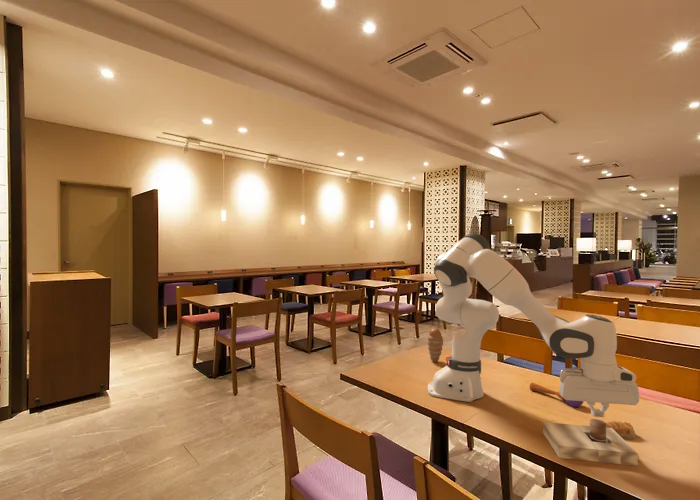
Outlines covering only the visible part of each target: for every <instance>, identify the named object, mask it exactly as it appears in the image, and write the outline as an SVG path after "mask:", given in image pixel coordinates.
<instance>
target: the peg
mask: <svg viewBox="0 0 700 500" xmlns="http://www.w3.org/2000/svg"><path fill="white" fill-rule="evenodd" d="M606 423H607V422H605V421H603V420H600V419H597V418H594V419H593V418H591V419H590V420H589V426H590V440H591V441H592V442H602V443H606Z"/></svg>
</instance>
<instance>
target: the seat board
mask: <svg viewBox="0 0 700 500" xmlns="http://www.w3.org/2000/svg"><path fill="white" fill-rule="evenodd" d="M542 434H543V435H544V437H545V438H546V440H547V442H548V443H549V444H550V446H551V448H552V449H553V450H554V452H555V454H556V456H557V457H558V458H559V459H567V460H568V459H569V460H577V461H586V462H596V463H597V462H598V463H607V464H615V465H616V464H618V465H626V466H633V467H634V466H636V467H638V466H639V462H638V461H639V453H638V452H637V451H636V450H635V449H634V448H633V447H632V446H631V445H630V444H629V443H628V442H627V441H626V440H625V438H622V437H621V436H619V435H618V434H617V433H616V432H615V431H614V430H613V429H612V428H606V443H602V442H592V441H591V440H590V425H582V424H571V423H570V424H569V423H559V422H547V421H543V422H542Z"/></svg>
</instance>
